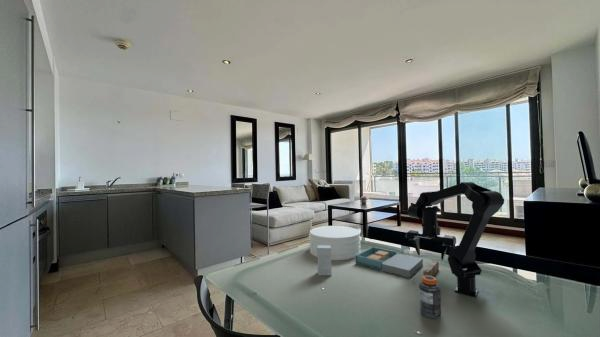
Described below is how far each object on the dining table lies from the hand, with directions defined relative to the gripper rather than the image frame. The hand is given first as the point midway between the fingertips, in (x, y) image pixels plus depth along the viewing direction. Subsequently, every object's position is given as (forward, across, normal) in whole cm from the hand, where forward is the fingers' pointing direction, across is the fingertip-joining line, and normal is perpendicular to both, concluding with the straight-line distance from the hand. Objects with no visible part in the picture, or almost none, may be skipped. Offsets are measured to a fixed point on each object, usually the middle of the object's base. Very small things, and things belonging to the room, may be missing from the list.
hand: (430, 257), depth 109 cm
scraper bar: (+8, 0, 0) cm, 8 cm away
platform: (+7, +12, 0) cm, 14 cm away
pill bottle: (+7, -8, +32) cm, 34 cm away
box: (+7, +25, 0) cm, 26 cm away
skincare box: (+8, +36, +28) cm, 46 cm away
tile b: (+6, +24, -4) cm, 25 cm away
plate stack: (+8, +50, -1) cm, 50 cm away
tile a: (+6, +24, +4) cm, 25 cm away
